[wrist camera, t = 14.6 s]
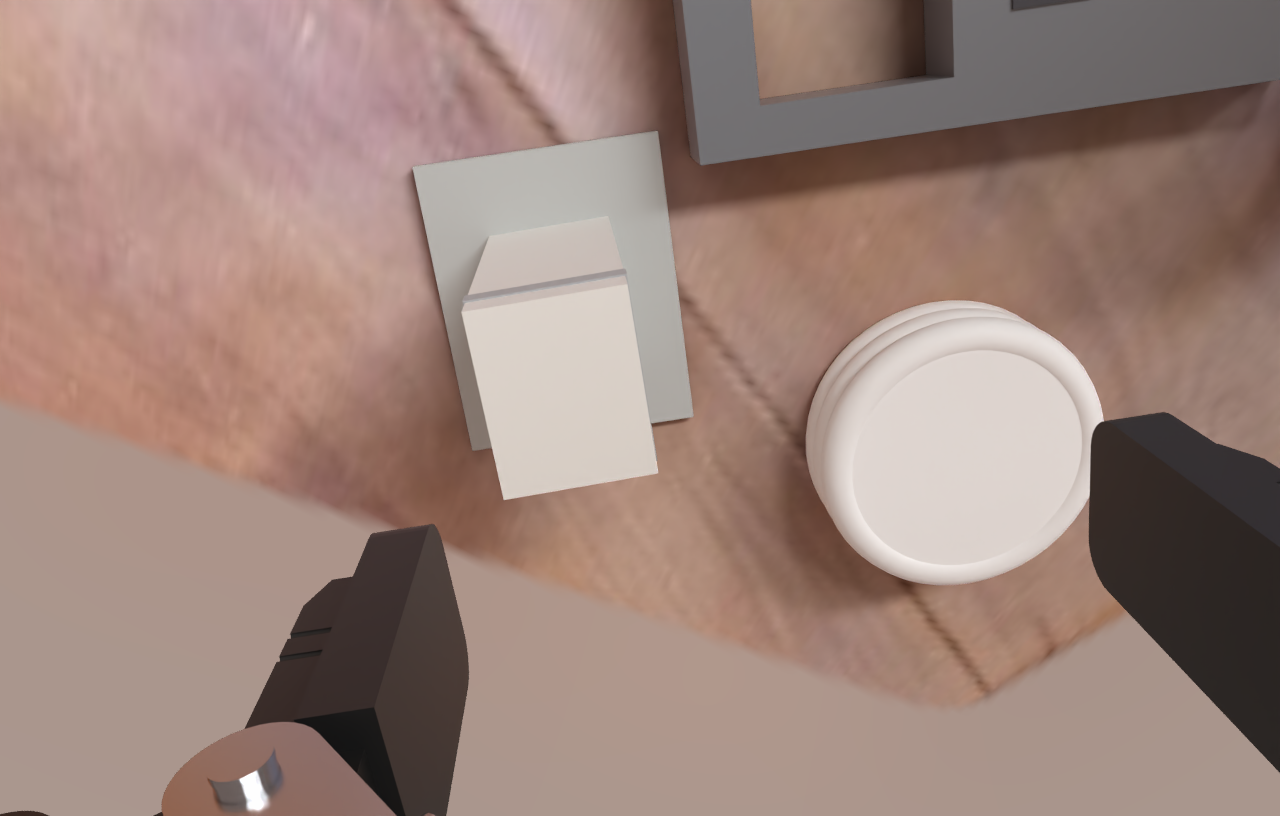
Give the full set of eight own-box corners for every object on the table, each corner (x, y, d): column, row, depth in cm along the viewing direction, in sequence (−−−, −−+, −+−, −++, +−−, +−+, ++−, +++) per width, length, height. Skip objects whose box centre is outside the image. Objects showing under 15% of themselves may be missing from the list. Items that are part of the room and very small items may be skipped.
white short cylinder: (763, 363, 36) (783, 396, 33) (1024, 251, 35) (1071, 273, 32) (852, 583, 39) (878, 632, 36) (1091, 485, 39) (1140, 525, 35)
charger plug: (609, 214, 33) (629, 281, 24) (633, 359, 35) (660, 474, 26) (487, 234, 33) (459, 310, 24) (517, 378, 35) (501, 502, 25)
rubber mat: (656, 130, 33) (657, 131, 32) (692, 412, 36) (693, 416, 36) (414, 166, 32) (412, 167, 32) (473, 446, 36) (472, 450, 36)
